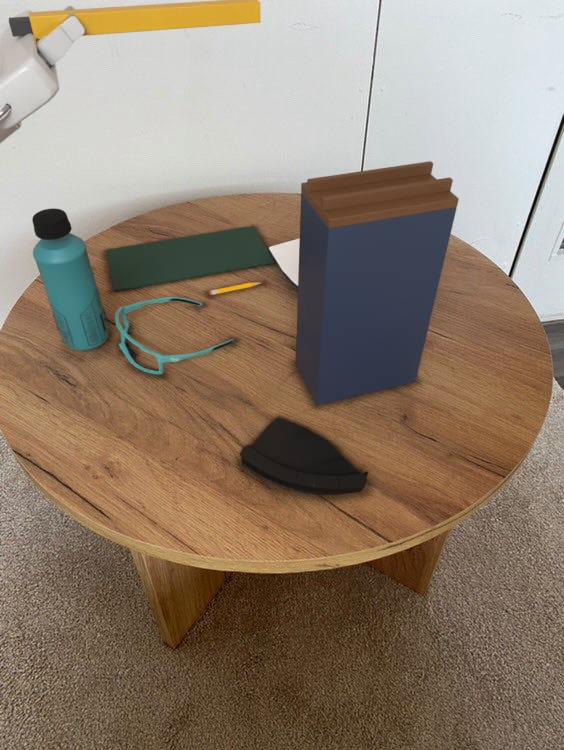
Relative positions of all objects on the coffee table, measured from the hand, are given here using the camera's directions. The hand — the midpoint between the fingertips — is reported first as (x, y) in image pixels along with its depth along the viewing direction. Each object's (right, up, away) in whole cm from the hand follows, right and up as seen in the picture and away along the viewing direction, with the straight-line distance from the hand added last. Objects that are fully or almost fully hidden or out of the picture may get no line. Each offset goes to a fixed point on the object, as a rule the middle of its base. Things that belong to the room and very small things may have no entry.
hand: (78, 17), depth 60 cm
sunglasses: (+5, -32, +22) cm, 40 cm away
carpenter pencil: (+7, 0, +3) cm, 7 cm away
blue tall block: (+31, -37, +18) cm, 51 cm away
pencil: (+14, -24, +31) cm, 42 cm away
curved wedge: (+23, -47, +7) cm, 53 cm away
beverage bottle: (-6, -33, +22) cm, 40 cm away
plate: (+31, -20, +35) cm, 51 cm away
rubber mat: (+5, -17, +37) cm, 42 cm away
